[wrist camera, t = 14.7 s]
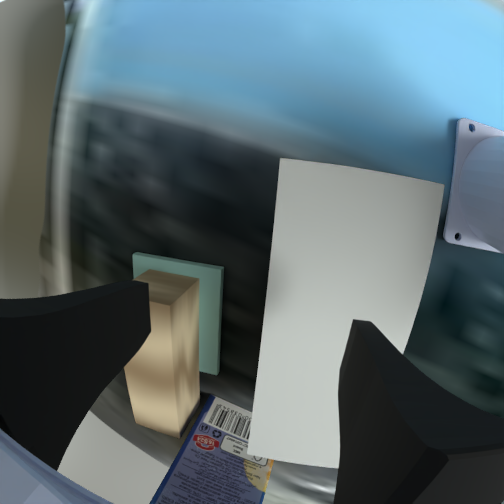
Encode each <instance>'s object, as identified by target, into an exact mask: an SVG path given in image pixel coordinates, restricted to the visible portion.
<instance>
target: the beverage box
mask: <svg viewBox="0 0 504 504" xmlns="http://www.w3.org/2000/svg"><path fill="white" fill-rule="evenodd" d="M251 419H252V412H250V411H248V410H245V409H243V408H241V407H238V406H236V405H234V404H232V403H229V402H227V401H225V400H223V399H221V398H219V397H216V396H214V395H212V394H210V396H209V398H208V399H207V401H206V403H205V405H204V407H203V409H202V411H201V412H200V414H199V416H198V418H197V420H196V422H195V423H194V425H193V427H192V429H191V431H190V433H189V434H188V436H187V438H186V440H185V442H184V443H183V445H182V447H181V449H180V451H179V452H178V454H177V456H176V458H175V460H174V461H173V463H172V465H171V467H170V468H169V470H168V472H167V474H166V475H165V477H164V479H163V481H162V483H161V484H160V486H159V488H158V489H157V491H156V493H155V495H154V496H153V498H152V500H151V502H150V504H262V502H263V498H264V495H265V491H266V487H267V484H268V480H269V476H270V473H271V469H272V465H273V461H274V460H273V459H268V458H263V457H258V456H253V455H249V454H247V449H248V442H249V435H250V427H251Z"/></svg>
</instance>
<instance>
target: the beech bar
mask: <svg viewBox="0 0 504 504" xmlns="http://www.w3.org/2000/svg"><path fill="white" fill-rule="evenodd" d="M133 280H137V281H141V282H146V283H149V303H150V319H151V333H150V334H149V336H148V338H147V339H146V341H145V342H144V344H143V345H142V347H141V348H140V350H139V351H138V352H137V353H136V354H135V356H134V357H133V358H132V359H131V360H130V361H129V362H128V363H127V365H126V366H125V367H124V370H125V375H126V381H127V386H128V391H129V395H130V400H131V405H132V409H133V414H134V418H135V422H136V423H137V424H139V425H142V426H145V427H147V428H150V429H153V430H155V431H158V432H161V433H164V434H167V435H170V436H172V437H175V438H179V439H180V438H181V437H182V435H183V433H184V431H185V430H186V428H187V426H188V424H189V423H190V421H191V419H192V417H193V415H194V414H195V412H196V410H197V408H198V407H199V405H200V387H199V278H194V277H189V276H183V275H178V274H173V273H167V272H162V271H157V270H152V269H149V270H147V271H145V272H144V273H142V274H141V275H139V276H138V277H136V278H135V279H133Z"/></svg>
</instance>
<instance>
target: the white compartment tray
mask: <svg viewBox="0 0 504 504" xmlns="http://www.w3.org/2000/svg"><path fill="white" fill-rule="evenodd" d="M443 192H444V184H440V183H435V182H431V181H426V180H422V179H417V178H412V177H407V176H402V175H396V174H391V173H385V172H380V171H374V170H368V169H362V168H355V167H349V166H342V165H335V164H328V163H320V162H312V161H304V160H295V159H286V158H280V166H279V177H278V187H277V198H276V208H275V218H274V228H273V238H272V248H271V257H270V267H269V276H268V285H267V294H266V303H265V312H264V321H263V330H262V338H261V347H260V355H259V363H258V372H257V380H256V388H255V396H254V404H253V412H252V419H251V427H250V435H249V442H248V449H247V454H249V455H253V456H258V457H263V458H268V459H273V460H279V461H285V462H291V463H298V464H305V465H312V466H321V467H330V468H339V459H340V432H339V409H338V383H339V370H340V366H341V362H342V359H343V355H344V352H345V348H346V344H347V341H348V337H349V333H350V329H351V325H352V321H353V319H357V320H364V321H371V322H372V323H373V324H374V325H375V326H376V327H377V328H378V329H379V330H380V331H381V332H382V333H383V334H384V335H385V336H386V338H387V339H388V340H389V341H390V342H391V343H392V344H393V345H394V346H395V347H396V348H397V349H398V350H399V351H400V352H401V353H402V354H403V352H404V349H405V346H406V344H407V341H408V338H409V335H410V332H411V329H412V326H413V323H414V319H415V316H416V313H417V310H418V306H419V303H420V299H421V296H422V292H423V289H424V285H425V281H426V277H427V273H428V269H429V265H430V261H431V257H432V252H433V248H434V243H435V238H436V233H437V228H438V223H439V217H440V211H441V205H442V199H443Z"/></svg>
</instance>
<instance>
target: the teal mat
mask: <svg viewBox="0 0 504 504" xmlns="http://www.w3.org/2000/svg"><path fill="white" fill-rule="evenodd" d="M149 269H152V270H157V271H162V272H167V273H173V274H178V275H183V276H189V277H194V278H199V371H201V372H205V373H209V374H213V375H218V373H219V367H220V341H221V318H222V298H223V278H224V267H222V266H215V265H209V264H203V263H198V262H192V261H186V260H180V259H174V258H168V257H162V256H157V255H151V254H145V253H140V252H136V253H134V254H133V275H134V279H135V278H136V277H138V276H139V275H141V274H142V273H144V272H145V271H147V270H149Z"/></svg>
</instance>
